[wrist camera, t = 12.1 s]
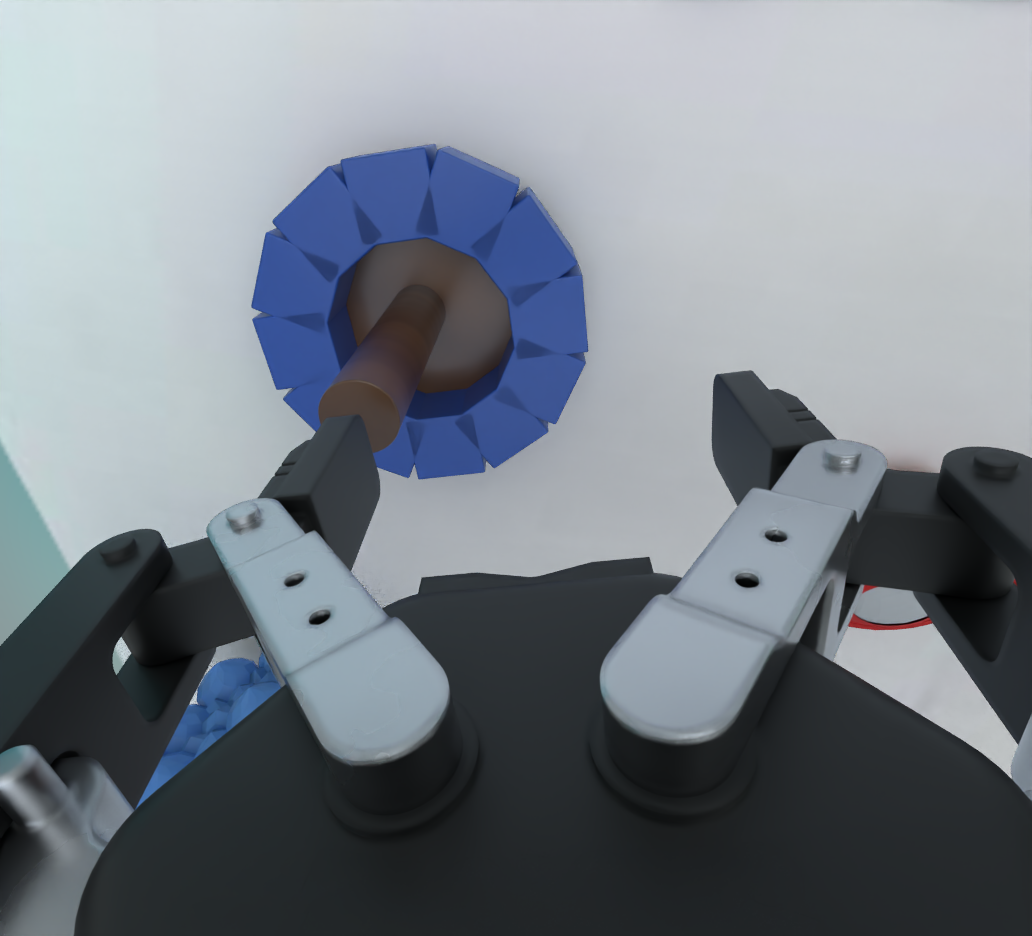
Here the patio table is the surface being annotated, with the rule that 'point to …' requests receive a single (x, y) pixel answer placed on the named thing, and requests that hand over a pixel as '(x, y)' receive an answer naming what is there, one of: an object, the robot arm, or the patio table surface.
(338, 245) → the ring
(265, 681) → the grapes
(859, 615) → the tracker holder
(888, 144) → the patio table surface
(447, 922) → the robot arm
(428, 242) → the post
